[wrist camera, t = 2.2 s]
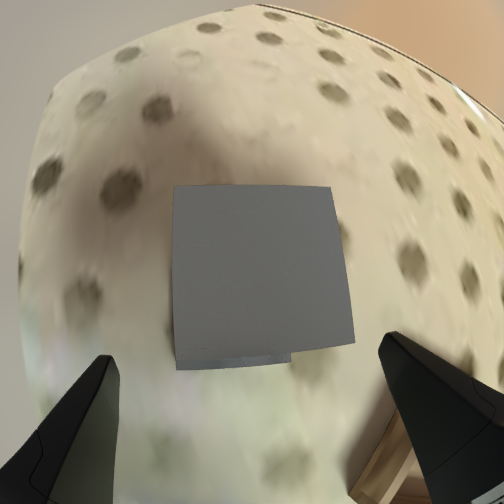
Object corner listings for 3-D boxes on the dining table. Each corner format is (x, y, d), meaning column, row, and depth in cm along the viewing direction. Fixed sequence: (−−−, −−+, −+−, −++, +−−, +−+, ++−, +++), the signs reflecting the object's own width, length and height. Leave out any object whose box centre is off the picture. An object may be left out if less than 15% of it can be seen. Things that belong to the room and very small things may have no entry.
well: (428, 503, 15) (452, 514, 11) (347, 495, 15) (370, 514, 12) (476, 405, 19) (503, 406, 15) (410, 374, 19) (442, 375, 15)
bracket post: (286, 361, 18) (395, 378, 7) (178, 368, 17) (129, 409, 6) (276, 258, 20) (356, 157, 9) (173, 262, 19) (135, 152, 8)
